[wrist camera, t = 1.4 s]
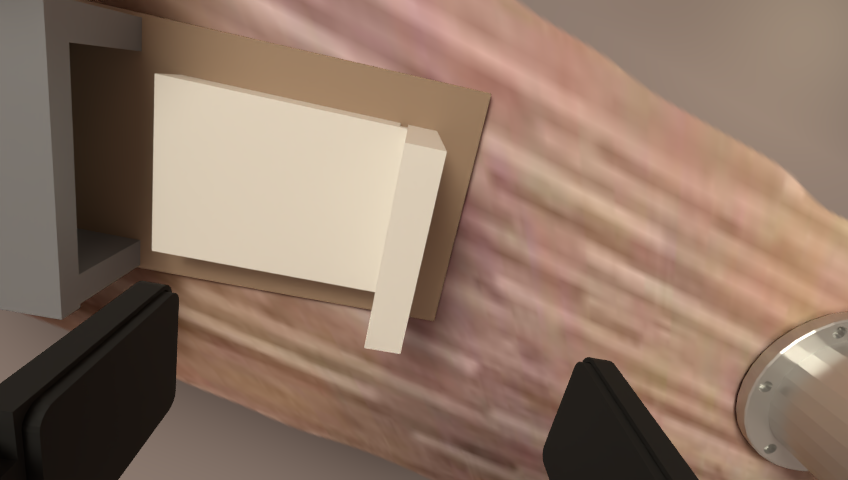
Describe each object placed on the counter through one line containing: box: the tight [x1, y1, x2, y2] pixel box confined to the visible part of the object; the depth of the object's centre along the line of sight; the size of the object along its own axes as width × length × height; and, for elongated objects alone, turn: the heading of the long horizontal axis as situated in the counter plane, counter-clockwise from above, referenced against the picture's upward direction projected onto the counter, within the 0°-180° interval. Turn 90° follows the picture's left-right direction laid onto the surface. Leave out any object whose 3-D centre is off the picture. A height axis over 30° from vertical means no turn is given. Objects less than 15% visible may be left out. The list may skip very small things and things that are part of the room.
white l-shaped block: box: [152, 73, 447, 354], centre depth 21 cm, size 14×9×8 cm, turn 78°
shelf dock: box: [0, 0, 491, 321], centre depth 22 cm, size 26×14×7 cm, turn 78°
